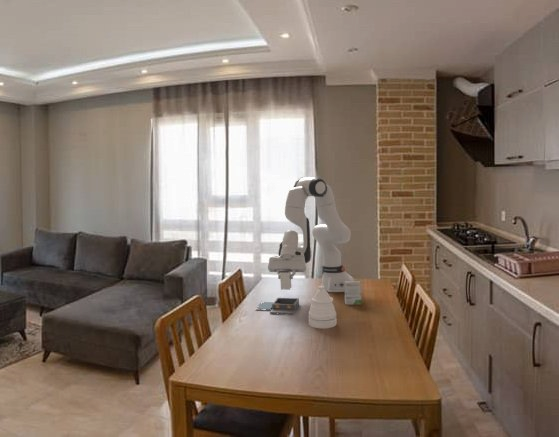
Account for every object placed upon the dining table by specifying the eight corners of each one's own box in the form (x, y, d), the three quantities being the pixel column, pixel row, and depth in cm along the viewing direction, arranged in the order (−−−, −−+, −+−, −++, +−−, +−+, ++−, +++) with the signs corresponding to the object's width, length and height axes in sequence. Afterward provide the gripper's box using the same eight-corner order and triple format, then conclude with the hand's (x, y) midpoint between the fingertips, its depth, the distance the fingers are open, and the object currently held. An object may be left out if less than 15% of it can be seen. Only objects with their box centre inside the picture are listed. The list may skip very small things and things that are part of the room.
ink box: (345, 304, 223) (344, 282, 222) (344, 301, 228) (344, 280, 227) (361, 304, 222) (361, 282, 221) (360, 301, 227) (360, 280, 226)
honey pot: (335, 329, 189) (334, 289, 187) (307, 327, 191) (305, 288, 189) (337, 319, 201) (336, 282, 199) (310, 318, 204) (309, 281, 202)
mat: (275, 303, 229) (275, 302, 229) (270, 310, 217) (270, 309, 217) (261, 303, 231) (261, 301, 231) (255, 310, 219) (255, 308, 219)
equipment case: (299, 304, 226) (298, 298, 225) (292, 314, 210) (292, 307, 209) (277, 304, 228) (277, 297, 228) (269, 313, 212) (269, 307, 212)
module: (291, 287, 222) (290, 268, 221) (289, 289, 218) (288, 270, 217) (282, 287, 223) (281, 268, 222) (280, 289, 219) (279, 270, 218)
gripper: (268, 252, 228) (264, 275, 219) (305, 252, 223) (303, 275, 215) (270, 259, 233) (267, 281, 224) (307, 259, 228) (305, 281, 220)
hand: (285, 278), depth 219 cm, fingers closed on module, 5 cm apart
